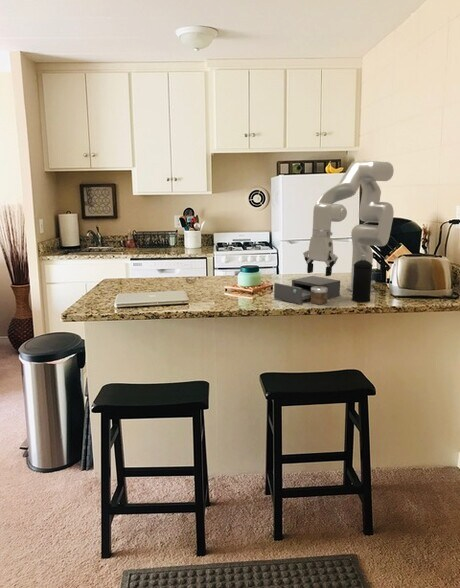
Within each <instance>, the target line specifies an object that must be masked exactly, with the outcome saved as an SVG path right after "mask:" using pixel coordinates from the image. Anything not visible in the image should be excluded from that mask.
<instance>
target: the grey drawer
mask: <svg viewBox="0 0 460 588" xmlns="http://www.w3.org/2000/svg"><path fill="white" fill-rule="evenodd" d="M273 290H274V291H273V292H274V293H273V299H277V300H281V301H284V302H289V303H293V304H298V305H302V303H303V302H302V301H303V300H308V299H309V300H310V298H311V290H307V289H302V288H299V287H293V286H292V285H287V284H282V283H277V282H275V283H274V287H273Z"/></svg>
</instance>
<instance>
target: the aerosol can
mask: <svg viewBox="0 0 460 588" xmlns="http://www.w3.org/2000/svg"><path fill="white" fill-rule="evenodd" d="M373 266H374V265H373V263H372V264H371V263H370V262H368V261H366V255H362V256H361V260H360V261H357V262H356V263H355V264H354V275H353V292H352V291H351V293H352V294H351V295H352V296H351V301H353V302H355V303H356V302H357V303H369V302H371V293H372V292H371V287H372V285H371V280H372V278H371V277H372V276H373V275H372V274H373Z"/></svg>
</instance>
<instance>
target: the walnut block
mask: <svg viewBox="0 0 460 588" xmlns="http://www.w3.org/2000/svg"><path fill="white" fill-rule="evenodd" d="M309 302H311V303H310V304H314V303H316V304H315V305H318V304H321V305H324V304H323V303H325V304H327V303H328V299H327V293H313V292H311V299H310V301H309Z"/></svg>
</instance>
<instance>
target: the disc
mask: <svg viewBox="0 0 460 588" xmlns="http://www.w3.org/2000/svg"><path fill="white" fill-rule="evenodd" d="M327 289H328V288H327V287H322V286H314V287H311V292H313V293H327Z"/></svg>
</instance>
